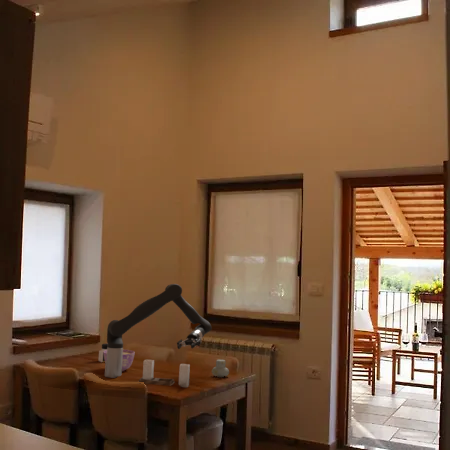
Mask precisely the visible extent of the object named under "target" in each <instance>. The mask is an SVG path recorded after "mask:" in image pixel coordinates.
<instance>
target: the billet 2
mask: <svg viewBox="0 0 450 450" xmlns="http://www.w3.org/2000/svg"><path fill="white" fill-rule="evenodd" d="M190 367H191V364H190V363H180V364H179V370H178V371H179V373H178V386H179V388H188V387H189V386H190V371H191V370H190V369H191V368H190Z"/></svg>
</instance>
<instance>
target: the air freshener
mask: <svg viewBox="0 0 450 450" xmlns="http://www.w3.org/2000/svg"><path fill="white" fill-rule="evenodd" d="M211 373H212V375H213V376H215V377H216V376H217V377H216V378H225V377H227V376H228V375H229V374H230V371H229V368H227V367H226V360H225V359H216V363H215V366H214V367H213V368H212V369H211ZM224 376H225V377H224Z"/></svg>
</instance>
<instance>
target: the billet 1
mask: <svg viewBox="0 0 450 450" xmlns="http://www.w3.org/2000/svg"><path fill="white" fill-rule="evenodd" d="M142 363H143V364H142V365H143V367H142V377H143V380H151V381H153V378H154V369H155V359H144V360H143V362H142Z"/></svg>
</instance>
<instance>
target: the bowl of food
mask: <svg viewBox="0 0 450 450" xmlns="http://www.w3.org/2000/svg"><path fill="white" fill-rule="evenodd" d="M103 353H104V359H105V361H106V360H107V350H105V351H103ZM135 353H136V352H135V351H134V350H129V349H123V356H122V372H125V370H127V369H129V368H130V367H132V364H133V361H134V358H135V355H136V354H135Z"/></svg>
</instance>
